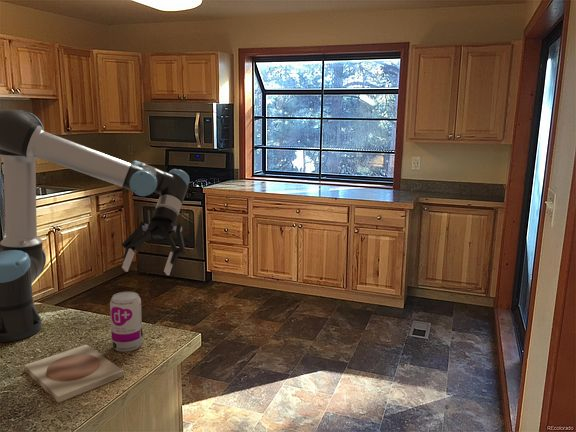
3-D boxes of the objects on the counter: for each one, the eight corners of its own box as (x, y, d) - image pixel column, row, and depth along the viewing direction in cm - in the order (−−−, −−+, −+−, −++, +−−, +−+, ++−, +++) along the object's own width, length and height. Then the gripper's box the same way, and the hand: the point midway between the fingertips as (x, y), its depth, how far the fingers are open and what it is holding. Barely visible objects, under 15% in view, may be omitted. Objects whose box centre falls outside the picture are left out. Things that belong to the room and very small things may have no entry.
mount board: (24, 370, 121) (24, 362, 121) (86, 349, 133) (86, 342, 133) (58, 402, 108) (57, 394, 108) (123, 376, 120) (123, 368, 119)
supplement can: (133, 354, 131) (131, 302, 128) (106, 350, 133) (103, 299, 130) (147, 341, 139) (146, 292, 136) (121, 338, 140) (119, 289, 137)
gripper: (206, 221, 154) (188, 280, 143) (135, 216, 159) (113, 273, 148) (199, 207, 148) (180, 268, 137) (126, 203, 153) (101, 262, 142)
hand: (145, 271), depth 142 cm, fingers open, 13 cm apart
